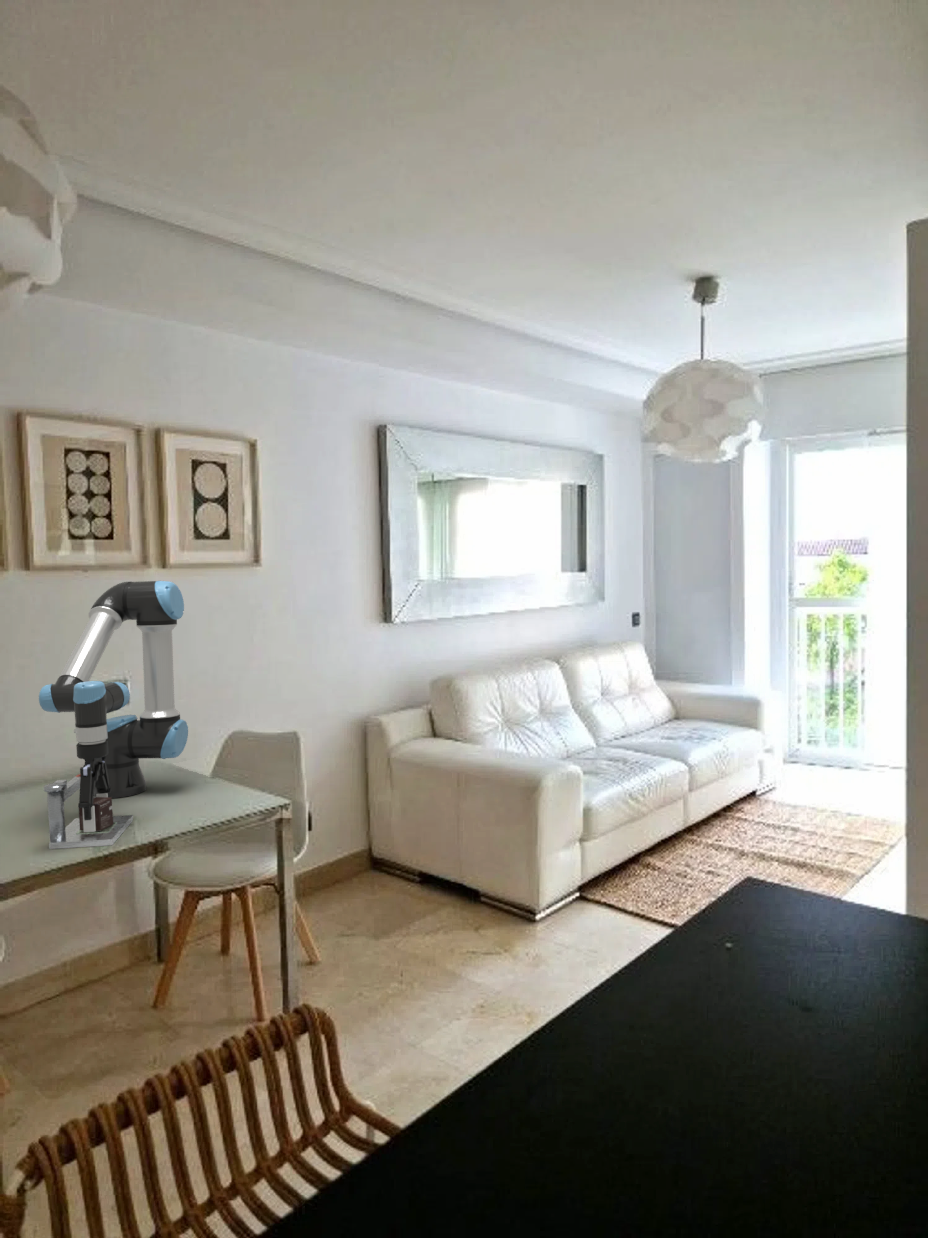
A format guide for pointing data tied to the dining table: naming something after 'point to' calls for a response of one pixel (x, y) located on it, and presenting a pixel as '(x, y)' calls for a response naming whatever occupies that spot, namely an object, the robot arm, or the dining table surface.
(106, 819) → the box
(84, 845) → the press
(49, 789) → the lever
